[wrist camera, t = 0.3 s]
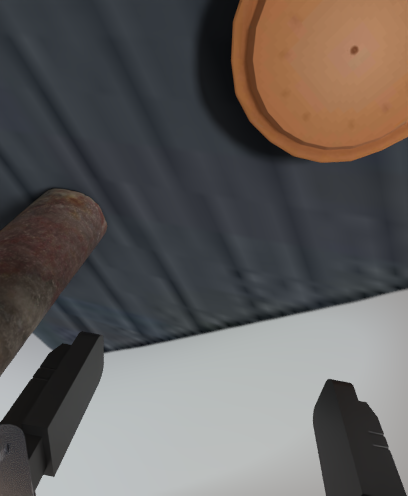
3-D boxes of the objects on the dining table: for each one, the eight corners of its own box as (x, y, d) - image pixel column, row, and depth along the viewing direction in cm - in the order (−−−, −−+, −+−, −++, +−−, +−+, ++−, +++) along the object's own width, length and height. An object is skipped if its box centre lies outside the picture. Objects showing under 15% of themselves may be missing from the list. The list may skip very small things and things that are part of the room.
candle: (42, 232, 39) (-111, 393, 23) (37, 174, 35) (-157, 322, 19) (107, 248, 39) (0, 419, 23) (110, 193, 35) (-20, 355, 19)
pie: (426, 141, 28) (454, 164, 24) (238, 151, 31) (235, 173, 27) (500, -130, 19) (563, -165, 15) (227, -83, 22) (220, -102, 18)
